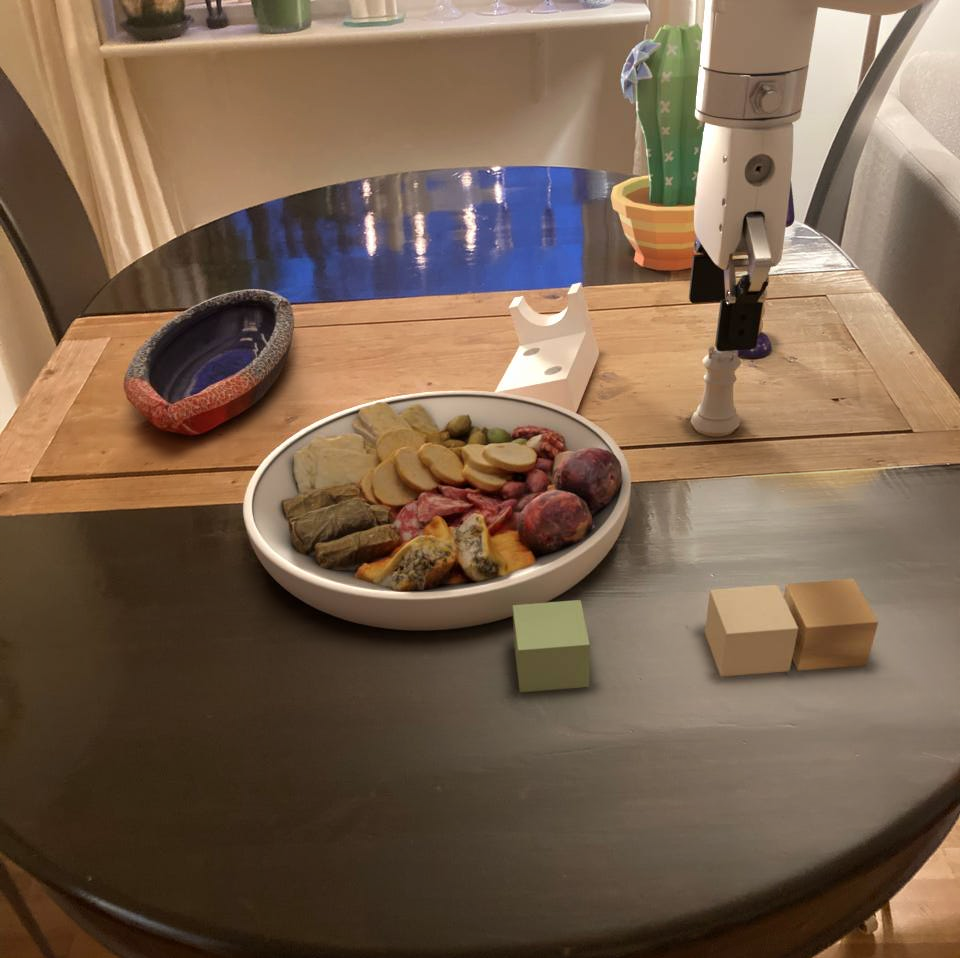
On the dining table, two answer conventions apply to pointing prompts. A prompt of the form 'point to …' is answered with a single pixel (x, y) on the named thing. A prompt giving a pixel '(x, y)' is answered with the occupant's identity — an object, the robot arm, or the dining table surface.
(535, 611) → the sage block
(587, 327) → the bracket
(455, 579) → the bowl
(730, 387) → the rook chess piece
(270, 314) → the dish
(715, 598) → the cream block
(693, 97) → the potted cactus
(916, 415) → the dining table surface
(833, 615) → the birch block
